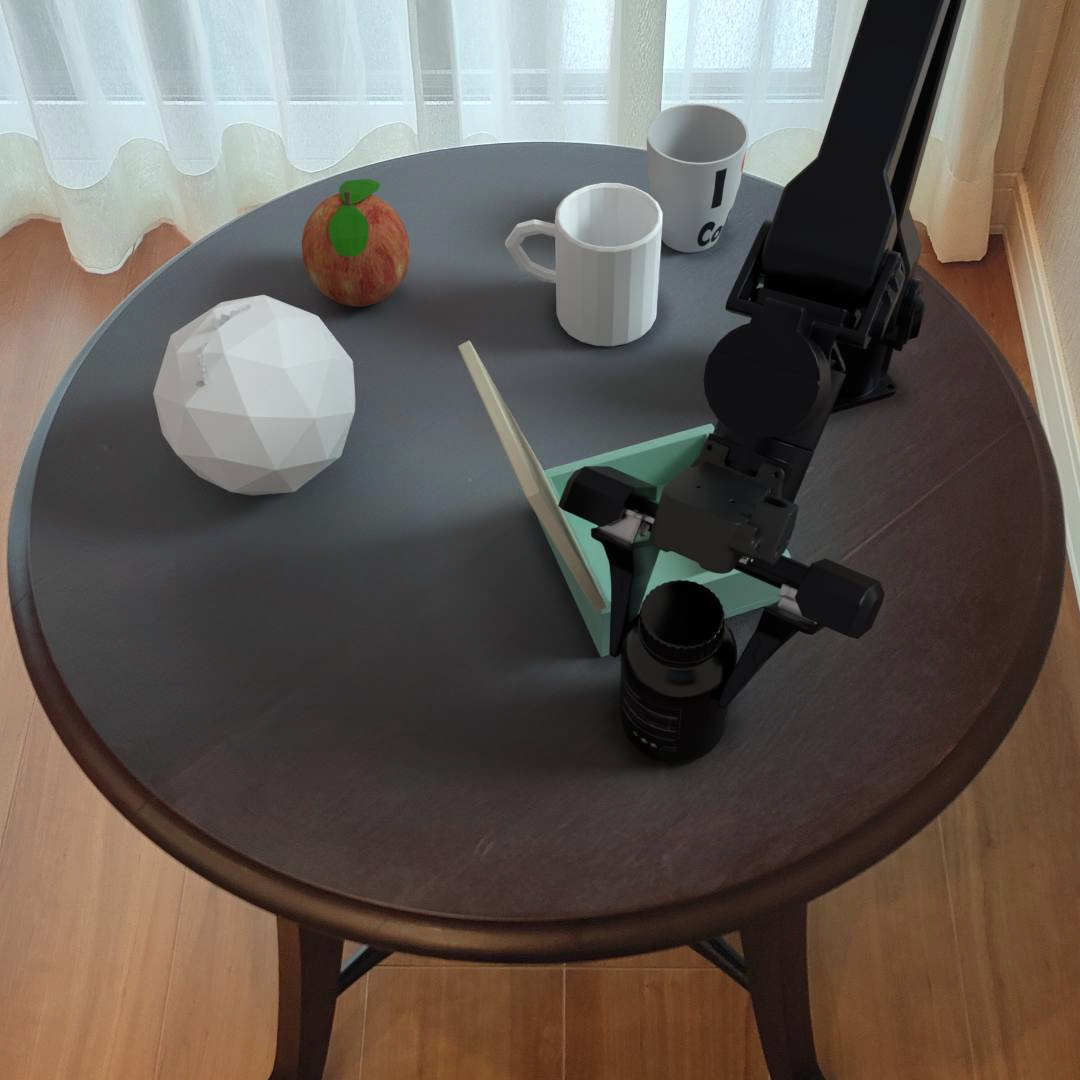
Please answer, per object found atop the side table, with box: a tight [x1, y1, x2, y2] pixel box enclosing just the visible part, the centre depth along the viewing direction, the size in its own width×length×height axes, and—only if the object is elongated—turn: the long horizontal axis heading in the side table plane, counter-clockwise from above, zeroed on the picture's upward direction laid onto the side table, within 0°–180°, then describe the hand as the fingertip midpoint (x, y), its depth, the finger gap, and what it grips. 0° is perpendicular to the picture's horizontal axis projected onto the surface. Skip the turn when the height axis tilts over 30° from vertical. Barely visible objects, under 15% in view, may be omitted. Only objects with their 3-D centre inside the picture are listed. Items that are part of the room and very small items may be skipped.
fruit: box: [301, 178, 411, 307], centre depth 105 cm, size 9×10×10 cm
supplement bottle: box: [619, 580, 738, 764], centre depth 79 cm, size 7×7×12 cm
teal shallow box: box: [537, 423, 792, 658], centre depth 89 cm, size 13×13×5 cm
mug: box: [504, 182, 663, 347], centre depth 103 cm, size 8×12×10 cm
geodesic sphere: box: [152, 294, 356, 496], centre depth 92 cm, size 15×14×14 cm
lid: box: [458, 340, 607, 612], centre depth 80 cm, size 14×13×1 cm
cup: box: [645, 103, 750, 254], centre depth 109 cm, size 8×8×10 cm
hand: (666, 680), depth 78 cm, fingers closed on supplement bottle, 7 cm apart
